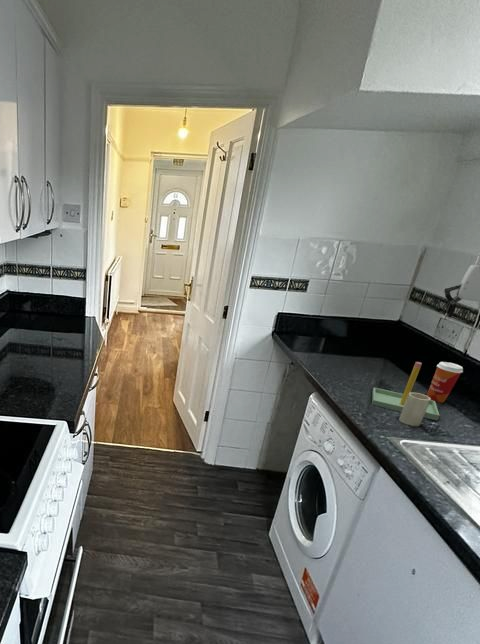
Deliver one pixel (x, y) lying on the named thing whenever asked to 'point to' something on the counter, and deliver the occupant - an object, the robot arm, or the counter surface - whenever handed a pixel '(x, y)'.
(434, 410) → the tray
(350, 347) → the counter surface
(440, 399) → the paper cup
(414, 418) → the pen cup
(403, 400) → the pencil
